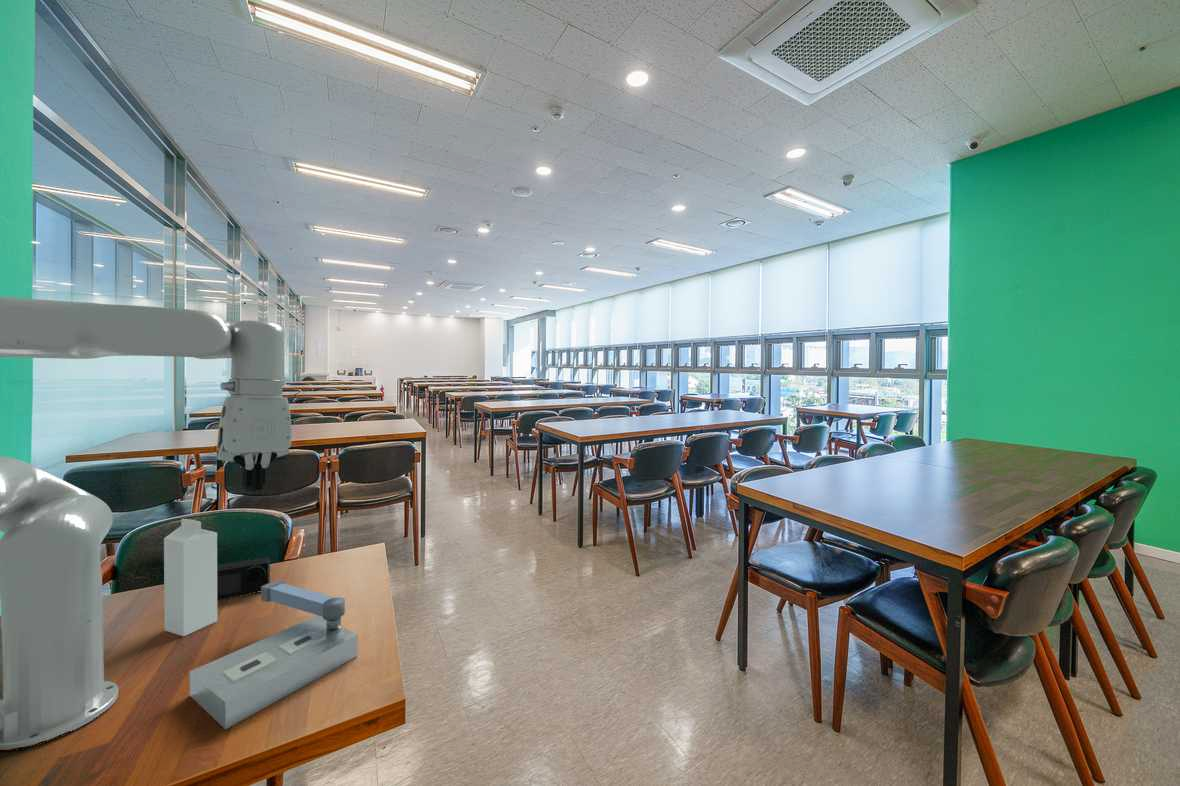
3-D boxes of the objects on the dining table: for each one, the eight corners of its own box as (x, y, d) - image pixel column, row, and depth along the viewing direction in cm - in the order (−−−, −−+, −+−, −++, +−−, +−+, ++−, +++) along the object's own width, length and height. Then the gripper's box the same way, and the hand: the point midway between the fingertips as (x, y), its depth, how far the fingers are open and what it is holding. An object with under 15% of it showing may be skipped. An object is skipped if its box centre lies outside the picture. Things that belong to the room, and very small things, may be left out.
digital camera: (210, 604, 98) (210, 573, 98) (215, 593, 103) (215, 564, 103) (267, 593, 104) (267, 564, 104) (269, 583, 109) (269, 556, 108)
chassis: (225, 729, 64) (225, 687, 63) (189, 695, 70) (189, 658, 70) (358, 655, 81) (358, 622, 81) (320, 634, 88) (320, 603, 87)
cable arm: (349, 613, 84) (349, 598, 84) (331, 622, 81) (332, 607, 80) (278, 592, 91) (278, 579, 91) (260, 600, 88) (260, 586, 88)
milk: (198, 616, 93) (198, 514, 93) (217, 621, 91) (218, 517, 91) (163, 631, 88) (163, 522, 87) (183, 637, 86) (183, 526, 85)
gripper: (213, 389, 71) (209, 501, 71) (311, 391, 84) (307, 486, 84) (196, 387, 75) (192, 494, 75) (292, 389, 88) (288, 480, 88)
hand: (253, 489), depth 79 cm, fingers closed
